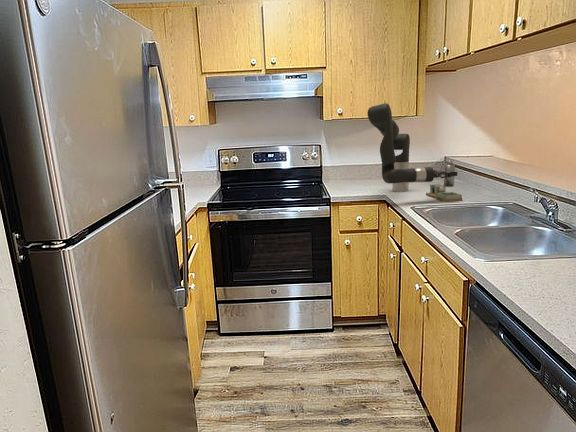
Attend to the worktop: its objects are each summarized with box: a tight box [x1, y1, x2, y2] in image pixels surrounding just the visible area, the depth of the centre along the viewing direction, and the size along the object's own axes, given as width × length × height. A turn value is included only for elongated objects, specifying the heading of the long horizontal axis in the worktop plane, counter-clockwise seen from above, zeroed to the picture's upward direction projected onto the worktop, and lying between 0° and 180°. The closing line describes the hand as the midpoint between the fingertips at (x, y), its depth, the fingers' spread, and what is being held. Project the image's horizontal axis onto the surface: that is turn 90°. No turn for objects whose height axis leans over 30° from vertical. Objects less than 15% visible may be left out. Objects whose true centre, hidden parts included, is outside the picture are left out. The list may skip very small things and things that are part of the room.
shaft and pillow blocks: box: [429, 183, 447, 195], centre depth 243 cm, size 9×5×5 cm, turn 7°
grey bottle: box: [443, 159, 456, 188], centre depth 229 cm, size 5×5×13 cm
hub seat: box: [437, 191, 463, 199], centre depth 232 cm, size 9×9×2 cm
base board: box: [425, 192, 463, 203], centre depth 238 cm, size 21×10×1 cm, turn 8°
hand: (454, 173), depth 229 cm, fingers closed on grey bottle, 5 cm apart
